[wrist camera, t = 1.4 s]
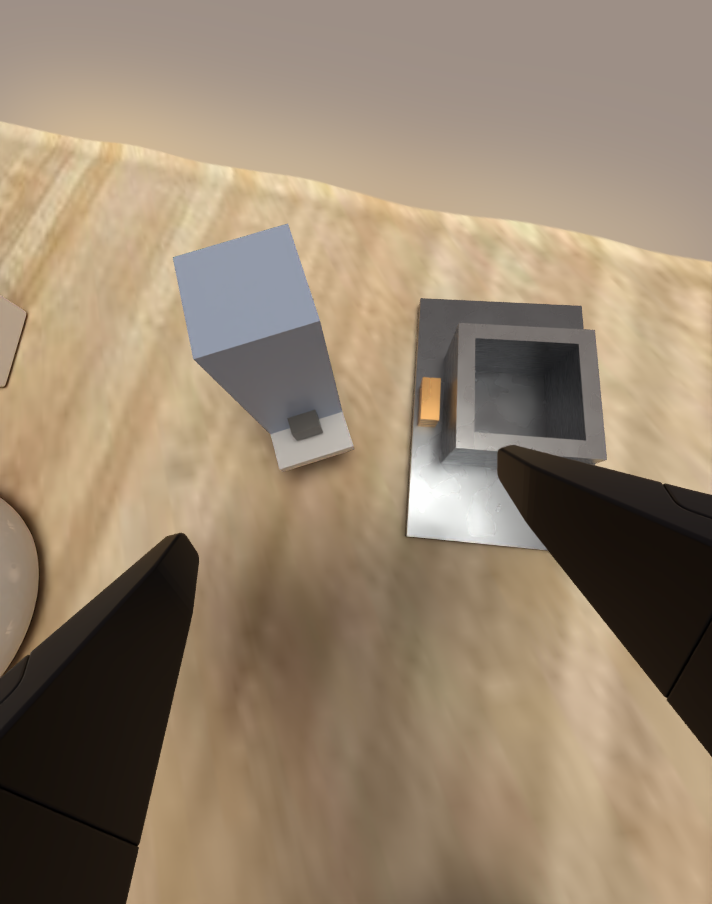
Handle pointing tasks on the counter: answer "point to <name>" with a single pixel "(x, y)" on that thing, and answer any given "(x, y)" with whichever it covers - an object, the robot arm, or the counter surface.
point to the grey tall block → (265, 341)
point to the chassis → (495, 411)
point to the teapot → (15, 582)
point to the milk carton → (9, 335)
